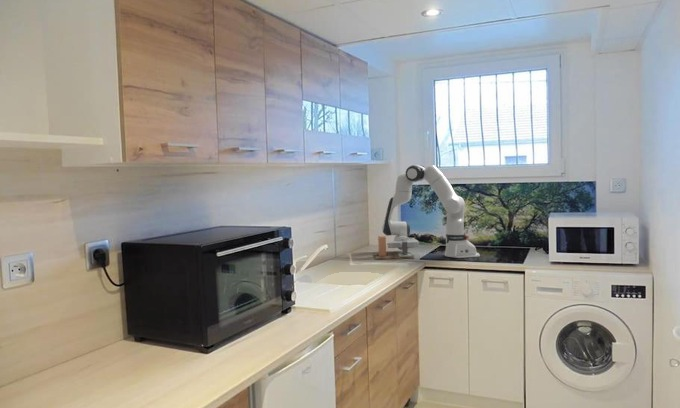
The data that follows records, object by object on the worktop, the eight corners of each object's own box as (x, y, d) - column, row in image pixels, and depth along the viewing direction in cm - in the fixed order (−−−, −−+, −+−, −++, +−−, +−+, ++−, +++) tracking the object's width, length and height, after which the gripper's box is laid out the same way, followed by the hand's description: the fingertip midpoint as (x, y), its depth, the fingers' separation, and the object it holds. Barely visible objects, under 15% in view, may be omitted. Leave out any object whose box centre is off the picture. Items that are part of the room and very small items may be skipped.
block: (385, 255, 331) (385, 236, 331) (386, 257, 327) (385, 237, 326) (378, 256, 331) (378, 236, 331) (379, 257, 327) (378, 237, 326)
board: (410, 255, 336) (410, 252, 336) (414, 260, 318) (414, 257, 318) (374, 256, 336) (374, 253, 336) (376, 261, 318) (375, 258, 318)
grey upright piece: (410, 254, 327) (410, 240, 327) (412, 256, 319) (411, 242, 319) (398, 254, 327) (397, 241, 327) (399, 256, 319) (399, 243, 319)
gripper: (386, 238, 338) (388, 241, 324) (416, 237, 338) (420, 240, 324) (386, 248, 339) (388, 251, 325) (417, 247, 338) (420, 250, 325)
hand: (404, 246), depth 325 cm, fingers closed, pressing on grey upright piece
